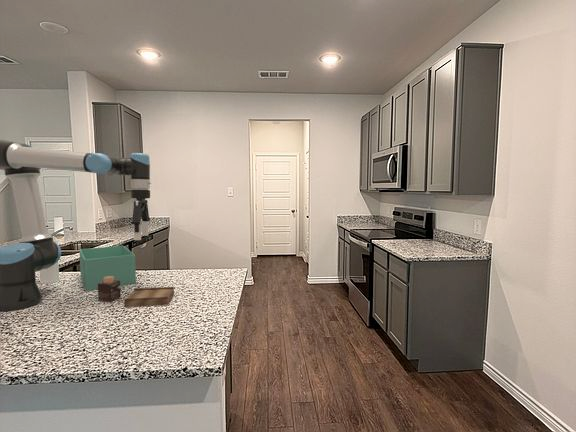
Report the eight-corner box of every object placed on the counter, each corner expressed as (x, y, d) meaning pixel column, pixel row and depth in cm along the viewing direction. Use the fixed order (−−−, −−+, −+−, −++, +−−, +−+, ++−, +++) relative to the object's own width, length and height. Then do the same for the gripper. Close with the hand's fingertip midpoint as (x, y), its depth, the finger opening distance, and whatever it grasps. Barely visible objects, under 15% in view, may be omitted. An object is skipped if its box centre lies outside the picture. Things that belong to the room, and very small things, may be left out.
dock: (124, 307, 126) (124, 299, 126) (134, 295, 140) (134, 288, 139) (167, 304, 129) (167, 297, 128) (173, 293, 142) (173, 286, 142)
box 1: (124, 271, 184) (123, 245, 182) (136, 284, 158) (135, 254, 157) (80, 276, 171) (79, 249, 170) (85, 291, 146) (84, 259, 145)
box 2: (110, 302, 132) (110, 284, 131) (97, 301, 133) (97, 283, 132) (121, 297, 138) (120, 280, 137) (108, 296, 139) (108, 279, 138)
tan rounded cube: (103, 283, 133) (103, 278, 133) (106, 281, 136) (106, 276, 136) (111, 282, 133) (111, 277, 133) (114, 280, 136) (113, 276, 136)
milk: (54, 283, 158) (52, 238, 156) (39, 284, 156) (37, 238, 155) (59, 279, 164) (57, 236, 162) (45, 280, 162) (43, 236, 160)
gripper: (143, 189, 131) (143, 241, 132) (155, 189, 155) (156, 233, 157) (122, 189, 129) (123, 242, 131) (138, 189, 154) (139, 234, 155)
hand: (141, 237), depth 144 cm, fingers open, 13 cm apart
